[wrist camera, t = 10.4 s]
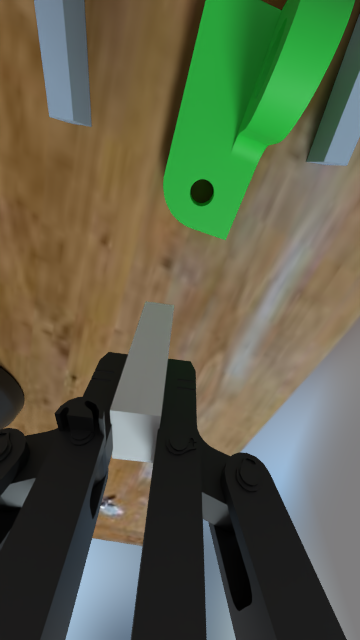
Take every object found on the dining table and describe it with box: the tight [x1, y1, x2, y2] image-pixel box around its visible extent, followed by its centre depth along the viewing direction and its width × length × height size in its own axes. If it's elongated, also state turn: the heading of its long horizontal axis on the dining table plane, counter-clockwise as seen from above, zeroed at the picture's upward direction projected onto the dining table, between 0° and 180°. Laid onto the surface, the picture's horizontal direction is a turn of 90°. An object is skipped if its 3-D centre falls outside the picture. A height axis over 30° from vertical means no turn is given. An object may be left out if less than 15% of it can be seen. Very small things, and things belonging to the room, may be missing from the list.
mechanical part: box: [163, 0, 355, 240], centre depth 14 cm, size 12×6×8 cm, turn 162°
